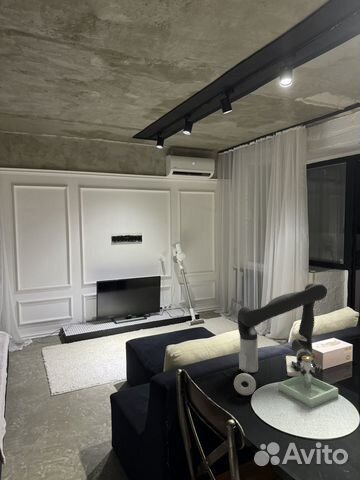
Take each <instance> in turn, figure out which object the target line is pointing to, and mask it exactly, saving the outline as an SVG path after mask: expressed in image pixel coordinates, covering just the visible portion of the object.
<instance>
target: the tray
mask: <svg viewBox="0 0 360 480" xmlns="http://www.w3.org/2000/svg"><path fill="white" fill-rule="evenodd" d="M311 381H312V388H311V389H306V388H304V376H303V374H302V375H300V376H297V377H296V376H293V377H291V378H289V379H286V380H283V381H280V382H278V391H280V392H281V393H283V394H285V395H287V396H289V397H290V398H292V399H294V400H296V401H298V402H299V403H301V404H303V405H304V406H307V407H308V408H310V409H311V408H313V407H316V406H318V405H320V404H323V403H325V402H327V401H330V400H333V399H335V398H337V397H339V388H338V387H336V386H334V385H331V384H329V383H327V382H325V381H322V380H320V379H318V378H316V377H314V376H313V377H312V376H311Z"/></svg>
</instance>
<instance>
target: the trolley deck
mask: <svg viewBox="0 0 360 480" xmlns="http://www.w3.org/2000/svg"><path fill="white" fill-rule="evenodd" d="M285 361H286V372H287V377H297V376H300V375H302V374H301V372H300V371H299V372H297V371H296V370H295V369H294V368H292V361H293V362H296V363H297V357H296V356H293V355H286V356H285ZM311 376H312V375H311ZM312 377H314V376H312Z"/></svg>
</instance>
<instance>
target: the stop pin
mask: <svg viewBox="0 0 360 480" xmlns="http://www.w3.org/2000/svg"><path fill="white" fill-rule="evenodd" d="M302 360H303V361H304V375H305V376H304V388H306V389H311V388H312V381H311V361H312V360H313V361H314V359H313V356H312V357H311V356H302Z"/></svg>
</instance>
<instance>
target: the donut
mask: <svg viewBox="0 0 360 480" xmlns="http://www.w3.org/2000/svg"><path fill="white" fill-rule="evenodd" d="M243 382H246V383H247V384H248V386H246V387H245V386H243V385H242V383H243ZM233 386H234V389H235V391H236V392H237V393H238V394H240V395H242V396H249V395H252V394H253V393H254V392H255V390H256V389H257V388H256V387H257V382H256V380H255V378H254V377H253V376H252V375H250V374H249V373H246V372H243V373H240V374H238V375H236V376H235V378H234V380H233Z"/></svg>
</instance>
